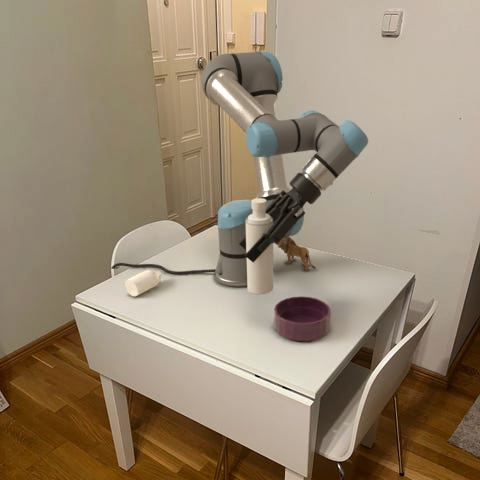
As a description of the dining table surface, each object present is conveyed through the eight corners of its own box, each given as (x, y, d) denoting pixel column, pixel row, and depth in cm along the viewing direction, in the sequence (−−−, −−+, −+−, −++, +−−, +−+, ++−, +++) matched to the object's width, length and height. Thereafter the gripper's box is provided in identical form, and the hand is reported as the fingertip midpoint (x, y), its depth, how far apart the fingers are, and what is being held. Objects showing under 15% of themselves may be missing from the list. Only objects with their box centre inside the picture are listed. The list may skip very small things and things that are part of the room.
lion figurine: (274, 261, 164) (274, 236, 160) (283, 256, 168) (283, 231, 163) (311, 272, 156) (312, 246, 151) (320, 267, 159) (321, 241, 155)
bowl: (269, 339, 123) (269, 321, 121) (279, 312, 135) (279, 294, 132) (326, 345, 120) (327, 326, 117) (331, 316, 132) (332, 298, 129)
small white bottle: (168, 284, 153) (166, 267, 150) (139, 298, 145) (136, 281, 142) (155, 279, 156) (153, 262, 153) (126, 293, 148) (123, 276, 145)
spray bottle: (263, 297, 123) (261, 199, 110) (242, 290, 127) (238, 195, 114) (278, 287, 128) (278, 192, 115) (257, 280, 131) (256, 188, 118)
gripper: (336, 204, 109) (265, 278, 115) (309, 181, 125) (248, 246, 131) (314, 182, 105) (242, 260, 111) (289, 161, 122) (228, 230, 128)
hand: (246, 252), depth 121 cm, fingers closed on spray bottle, 7 cm apart
